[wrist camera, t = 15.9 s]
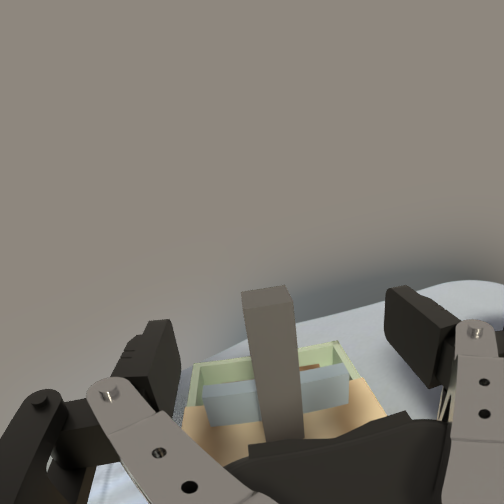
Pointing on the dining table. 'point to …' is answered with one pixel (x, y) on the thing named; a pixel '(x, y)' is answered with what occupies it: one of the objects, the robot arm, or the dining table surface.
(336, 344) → the tray
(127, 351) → the robot arm
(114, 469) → the dining table surface
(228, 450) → the board
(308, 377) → the scraper
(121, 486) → the dining table surface
